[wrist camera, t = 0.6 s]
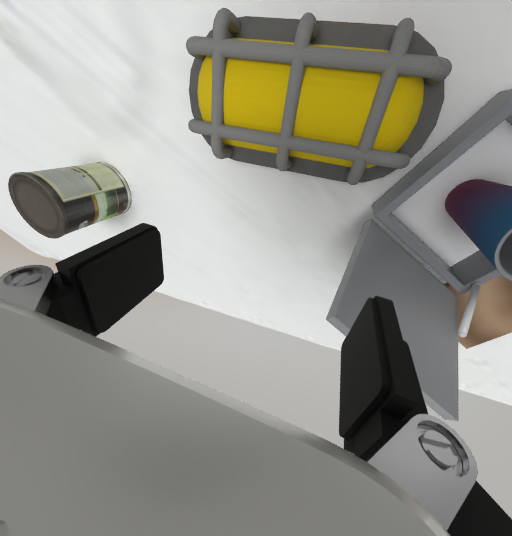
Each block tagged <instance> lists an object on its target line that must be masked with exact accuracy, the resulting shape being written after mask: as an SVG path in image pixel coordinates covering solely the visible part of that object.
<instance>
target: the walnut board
mask: <svg viewBox="0 0 512 536" xmlns="http://www.w3.org/2000/svg"><path fill="white" fill-rule="evenodd" d="M444 285H445V286H446V287H447V288H448V289H449V290H450V291H451V292H452V293H453V294H454V295H456V296H457V297H458V330H459V327H460V324H461V320H462V317H463V314H464V311H465V307H466V304H467V301H468V298H469V294H470V291H471V290H470V291H468V292H466V293H464V294H462V295H461V294H460V293H459V292H458V291H457V290H455V289H454V288H453V287H452V286H451V285H450V284H449V283H448V282H447V283H446V284H444ZM511 332H512V281H510V280H508V279H507V278H505V277H504V276H503V275H500V276H498V277H496V278H494V279H492V280H490V281H488V282H486V283H484V284H482V285H481V288H480V292H479V295H478V298H477V302H476V305H475V309H474V312H473V316H472V319H471V323H470V326H469V330H468V333H467V336H466V337H460V336H459V335H458V341H459V342H460V343H461V344H462V345H463V346H464V347H465V348H466V349H467V348H470V347H473V346H476V345H478V344H481V343H484V342H487V341H489V340H492V339H495V338H498V337H500V336H503V335H506V334H509V333H511Z"/></svg>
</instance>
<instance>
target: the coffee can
mask: <svg viewBox="0 0 512 536" xmlns="http://www.w3.org/2000/svg"><path fill="white" fill-rule="evenodd" d="M8 186H9V192H10V196H11V199H12V201H13V203H14V205H15V207H16V209H17V210H18V212H19V213H20V215H21V216H22V217H23V218H24V220H25V221H26V222H27V223H28V224H29V225H30V226H31V227H32V228H33V229H35V230H36V231H37V232H39V233H40V234H42V235H44V236H46V237H49V238H59V237H62V236H63V235H65V234H67V233H70V232H73V231H75V230H78V229H81V228H83V227H86V226H89V225H91V224H94V223H97V222H99V221H102V220H105V219H108V218H110V217H113V216H116V215H118V214H122V213H125V212H126V211H127V210H128V209H129V207H130V204H131V194H130V190H129V187H128V185H127V183H126V181H125V179H124V178H123V176H122V175H121V174H120V173H119V172H118V171H117V170H116V169H115V168H114V167H113V166H111V165H109V164H107V163H102V162H99V163H95V164H88V165H80V166H73V167H65V168H57V169H50V170H42V171H34V172H27V173H26V172H18V173H14V174H12V175H11V177H10V178H9V183H8Z"/></svg>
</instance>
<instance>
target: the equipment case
mask: <svg viewBox="0 0 512 536" xmlns="http://www.w3.org/2000/svg"><path fill="white" fill-rule="evenodd" d="M505 119H507V120H508V121H509V122H510V123H511V125H512V89H510V90H506V91H502V92H499V93H498V94H497V95H496V96H495V97H494V98H493V99H491V100H490V101H489V102H488V103H487V104H486V105H485V106H484V107H482V108H481V109H480V110H479V111H478V112H477V113H476V114H474V115H473V116H472V117H471V118H470V119H469V120H468V121H467V122H465V123H464V124H463V125H462V126H461V127H460V128H459V129H457V130H456V131H455V132H454V133H453V134H452V135H451V136H450V137H448V138H447V139H446V140H445V141H444V142H443V143H442V144H441V145H439V146H438V147H437V148H436V149H435V150H434V151H433V152H431V153H430V154H429V155H428V156H427V157H426V158H425V159H424V160H422V161H421V162H420V163H419V164H418V165H417V166H416V167H414V168H413V169H412V170H411V171H410V172H409V173H408V174H407V175H405V176H404V177H403V178H402V179H401V180H400V181H399V182H397V183H396V184H395V185H394V186H393V187H392V188H391V189H390V190H388V191H387V192H386V193H385V194H384V195H383V196H382V197H381V198H379V199H378V200H377V201H376V202H375V203H374V204H373V205H372V208H373V211H374V214H375V216H376V217H377V218H378V219H379V220H380V221H381V222H382V223H383V224H384V225H385V226H387V227H388V228H389V229H390V230H391V231H392V232H393V233H394V234H395V235H396V236H398V237H399V238H400V239H401V240H402V241H403V242H404V243H405V244H406V245H407V246H408V247H410V248H411V249H412V250H413V251H414V252H415V253H416V254H417V255H418V256H419V257H420V258H422V259H423V260H424V261H425V262H426V263H427V264H428V265H429V266H430V267H431V268H433V269H434V270H435V271H436V272H437V273H438V274H439V275H440V276H441V277H442V278H443V279H445V280H446V281H447V282H448V283H449V284H450V285H451V286H452V287H453V288H454V289H455V290H457V291H458V292H459V293H460V294H461V295H462V294H464V293H466V292H468V291H470V290H471V291H470V294H469V298H468V301H467V304H466V307H465V311H464V314H463V317H462V320H461V324H460V327H459V330H458V335H459V336H460V337H466V336H467V333H468V330H469V326H470V323H471V319H472V316H473V312H474V309H475V305H476V302H477V298H478V295H479V292H480V288H481V285H482V284H484V283H486V282H488V281H490V280H492V279H494V278H496V277H498V276H500V275H502V274H500V273H499V272H498V270H497V269H496V268H495V267H494V266H493V265H492V263H491V262H490V261H489V260H488V259H487V258H486V256H485V255H484V254H483V253H482V252H481V251H478V252H476V253H475V254H473V255H471V256H469V257H468V258H466V259H464V260H462V261H461V262H459V263H457V264H455V265H454V266H452V267H449V266H448V265H447V264H446V263H445V262H444V261H443V260H442V259H441V258H440V257H438V256H437V255H436V254H435V253H434V252H433V251H432V250H431V249H430V248H429V247H428V246H427V245H426V244H424V243H423V242H422V241H421V240H420V239H419V238H418V237H417V236H416V235H415V234H414V233H413V232H411V231H410V230H409V229H408V228H407V227H406V226H405V225H404V224H403V223H402V222H401V221H400V220H398V219H397V218H396V217H395V216H394V215H393V214H392V213H391V212H392V211H394V210H395V209H396V208H397V207H398V206H400V205H401V204H402V203H403V202H405V201H406V200H407V199H408V198H409V197H411V196H412V195H413V194H414V193H416V192H417V191H418V190H419V189H421V188H422V187H423V186H424V185H425V184H427V183H428V182H429V181H430V180H432V179H433V178H434V177H435V176H436V175H438V174H439V173H440V172H441V171H443V170H444V169H445V168H446V167H447V166H449V165H450V164H451V163H452V162H454V161H455V160H456V159H457V158H458V157H460V156H461V155H462V154H463V153H465V152H466V151H467V150H468V149H470V148H471V147H472V146H473V145H474V144H476V143H477V142H478V141H479V140H481V139H482V138H483V137H484V136H485V135H487V134H488V133H489V132H490V131H492V130H493V129H494V128H495V127H496V126H498V125H499V124H500V123H501V122H503V121H504V120H505Z"/></svg>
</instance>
